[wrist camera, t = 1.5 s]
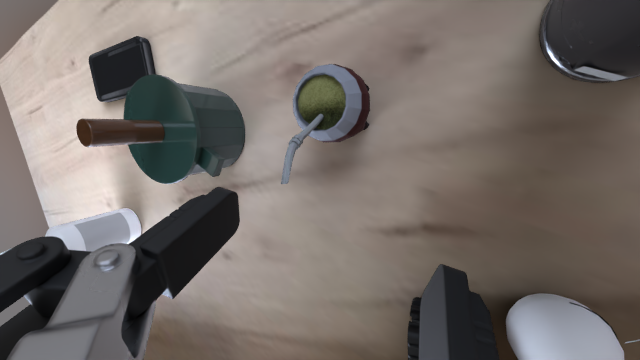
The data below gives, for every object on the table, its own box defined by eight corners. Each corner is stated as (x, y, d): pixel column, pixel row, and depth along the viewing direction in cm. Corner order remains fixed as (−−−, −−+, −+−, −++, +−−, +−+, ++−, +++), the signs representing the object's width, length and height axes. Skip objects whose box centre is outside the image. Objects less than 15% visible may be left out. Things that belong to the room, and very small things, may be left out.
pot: (185, 67, 38) (126, 53, 30) (271, 124, 34) (227, 123, 26) (168, 135, 42) (113, 137, 35) (242, 193, 38) (197, 209, 31)
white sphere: (505, 343, 27) (527, 413, 20) (491, 278, 26) (509, 328, 20) (640, 353, 23) (724, 446, 16) (627, 275, 22) (709, 339, 15)
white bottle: (136, 246, 52) (2, 301, 36) (117, 223, 53) (-22, 266, 37) (146, 224, 49) (4, 272, 33) (125, 200, 50) (-21, 235, 34)
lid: (144, 57, 30) (50, 35, 23) (218, 109, 27) (138, 102, 20) (126, 148, 35) (44, 154, 28) (188, 201, 32) (114, 224, 25)
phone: (151, 88, 40) (97, 102, 46) (158, 89, 41) (105, 102, 47) (140, 33, 38) (87, 55, 45) (148, 35, 39) (94, 57, 46)
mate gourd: (347, 61, 28) (266, 2, 15) (399, 111, 27) (362, 96, 13) (306, 114, 31) (209, 105, 18) (351, 160, 30) (282, 188, 17)
